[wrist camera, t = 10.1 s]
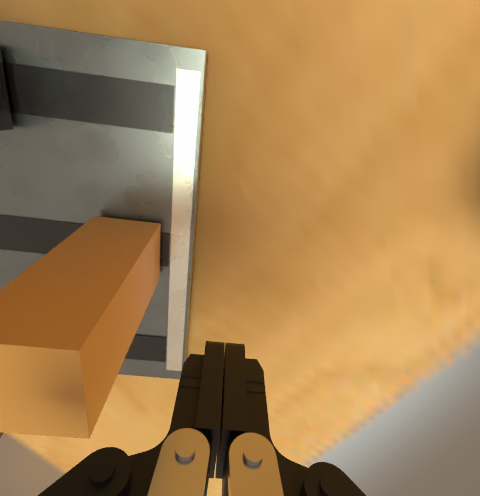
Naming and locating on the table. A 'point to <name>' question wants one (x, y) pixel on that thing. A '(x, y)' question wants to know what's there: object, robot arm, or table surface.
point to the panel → (103, 160)
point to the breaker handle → (74, 326)
